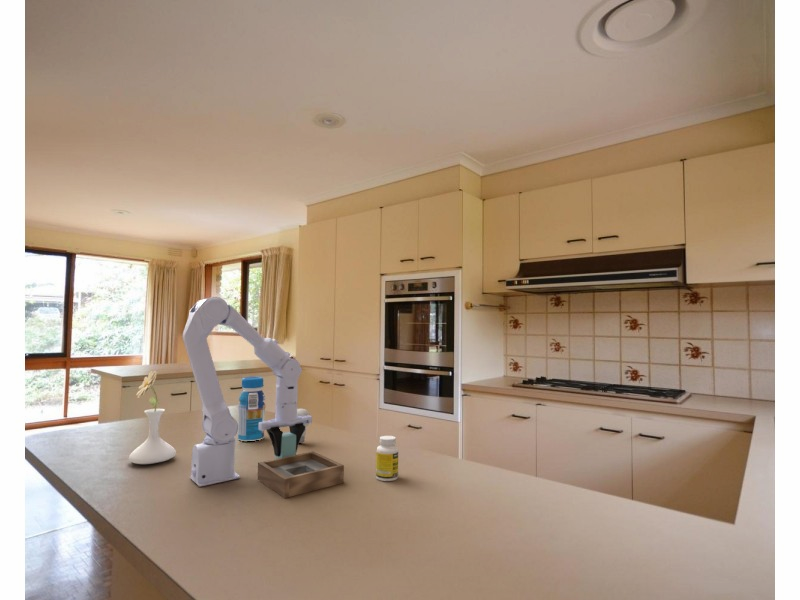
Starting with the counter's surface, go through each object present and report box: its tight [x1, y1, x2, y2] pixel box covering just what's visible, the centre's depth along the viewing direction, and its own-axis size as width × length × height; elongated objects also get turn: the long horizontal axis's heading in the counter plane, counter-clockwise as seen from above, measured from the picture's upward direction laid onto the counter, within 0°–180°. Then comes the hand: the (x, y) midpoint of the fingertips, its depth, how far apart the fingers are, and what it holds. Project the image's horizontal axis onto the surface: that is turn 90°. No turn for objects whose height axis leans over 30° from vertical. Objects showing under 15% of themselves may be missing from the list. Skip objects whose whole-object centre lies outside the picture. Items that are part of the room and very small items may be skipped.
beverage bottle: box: [237, 376, 266, 441], centre depth 144 cm, size 8×8×20 cm
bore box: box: [257, 451, 345, 499], centre depth 105 cm, size 15×15×4 cm
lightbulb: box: [297, 408, 311, 444], centre depth 138 cm, size 6×6×11 cm
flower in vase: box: [128, 370, 177, 465], centre depth 120 cm, size 13×11×25 cm
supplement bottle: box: [375, 435, 399, 482], centre depth 107 cm, size 5×5×10 cm
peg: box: [274, 431, 297, 459], centre depth 117 cm, size 4×4×8 cm
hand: (285, 454), depth 117 cm, fingers closed on peg, 4 cm apart
